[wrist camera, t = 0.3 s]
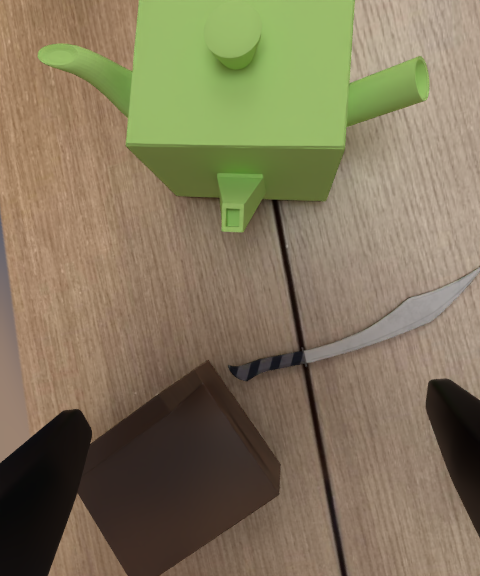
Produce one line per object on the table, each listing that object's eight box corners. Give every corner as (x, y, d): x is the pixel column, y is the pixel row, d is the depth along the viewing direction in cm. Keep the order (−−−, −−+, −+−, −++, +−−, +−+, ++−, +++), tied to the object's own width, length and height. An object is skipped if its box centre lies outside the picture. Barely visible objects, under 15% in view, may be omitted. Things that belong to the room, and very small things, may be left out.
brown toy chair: (280, 464, 25) (276, 571, 15) (160, 547, 26) (79, 699, 16) (208, 359, 26) (158, 394, 16) (94, 442, 27) (-20, 523, 17)
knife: (241, 395, 25) (239, 398, 24) (228, 363, 26) (226, 366, 25) (504, 292, 23) (514, 292, 22) (488, 259, 23) (496, 257, 22)
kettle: (124, 143, 28) (14, 33, 16) (255, 13, 27) (233, -197, 16) (252, 281, 26) (225, 262, 14) (398, 145, 25) (489, 13, 14)
